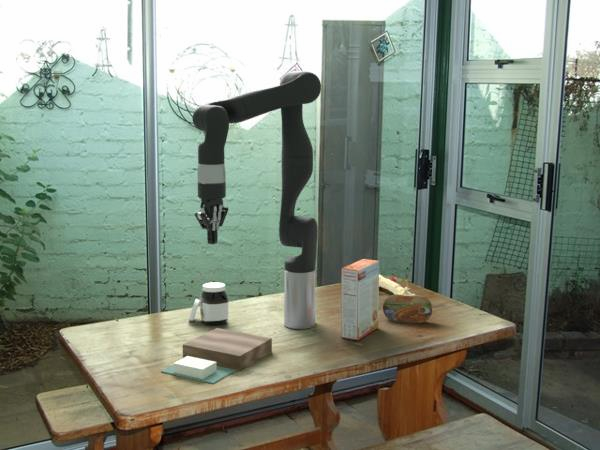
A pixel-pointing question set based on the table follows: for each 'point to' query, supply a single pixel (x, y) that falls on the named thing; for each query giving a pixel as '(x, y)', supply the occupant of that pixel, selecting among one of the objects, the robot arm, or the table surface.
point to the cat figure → (394, 286)
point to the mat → (211, 378)
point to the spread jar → (212, 304)
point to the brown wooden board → (229, 348)
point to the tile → (194, 367)
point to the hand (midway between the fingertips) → (212, 243)
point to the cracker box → (359, 299)
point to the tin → (407, 308)
